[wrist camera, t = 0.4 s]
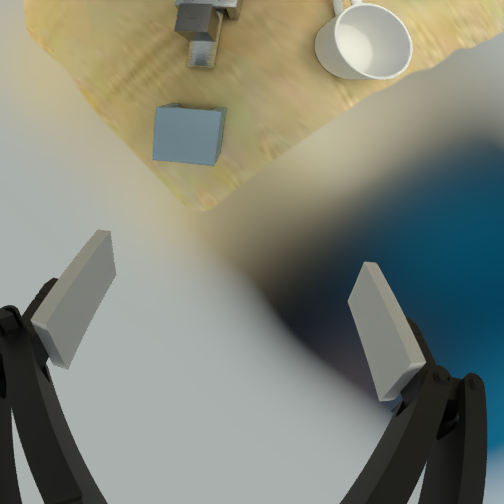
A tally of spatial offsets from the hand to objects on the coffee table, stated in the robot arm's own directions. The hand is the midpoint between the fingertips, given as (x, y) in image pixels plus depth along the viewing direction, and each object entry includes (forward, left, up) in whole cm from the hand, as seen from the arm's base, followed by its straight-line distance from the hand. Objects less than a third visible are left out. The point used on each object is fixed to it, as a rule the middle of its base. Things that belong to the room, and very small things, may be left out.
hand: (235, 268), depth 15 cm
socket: (-3, -7, -26) cm, 27 cm away
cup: (-18, +9, -26) cm, 33 cm away
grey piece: (-18, -7, -25) cm, 31 cm away
